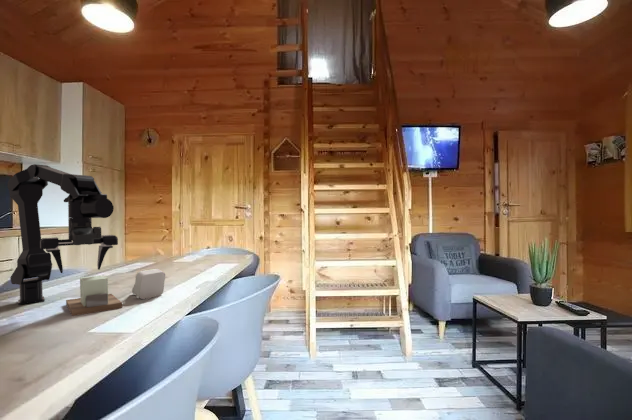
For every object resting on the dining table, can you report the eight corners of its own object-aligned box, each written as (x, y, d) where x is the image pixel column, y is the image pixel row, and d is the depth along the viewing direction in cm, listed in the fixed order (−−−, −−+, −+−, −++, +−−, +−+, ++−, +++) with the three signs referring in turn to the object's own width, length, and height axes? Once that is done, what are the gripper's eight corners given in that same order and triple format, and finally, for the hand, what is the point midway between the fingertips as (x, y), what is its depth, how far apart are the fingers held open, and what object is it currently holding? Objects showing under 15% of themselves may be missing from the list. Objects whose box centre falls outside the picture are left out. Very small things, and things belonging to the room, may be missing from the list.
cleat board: (66, 305, 111) (65, 290, 111) (111, 298, 118) (110, 284, 118) (72, 316, 98) (71, 299, 98) (122, 307, 106) (121, 292, 106)
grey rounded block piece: (145, 289, 128) (148, 261, 126) (162, 300, 122) (165, 271, 121) (122, 294, 121) (125, 265, 120) (138, 305, 115) (141, 275, 114)
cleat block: (80, 301, 108) (80, 278, 108) (104, 298, 112) (103, 275, 112) (83, 306, 102) (83, 281, 102) (108, 302, 106) (107, 278, 106)
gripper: (41, 219, 96) (42, 279, 96) (121, 217, 107) (122, 271, 108) (39, 218, 104) (40, 273, 104) (113, 217, 116) (114, 266, 116)
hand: (80, 271), depth 108 cm, fingers open, 9 cm apart
